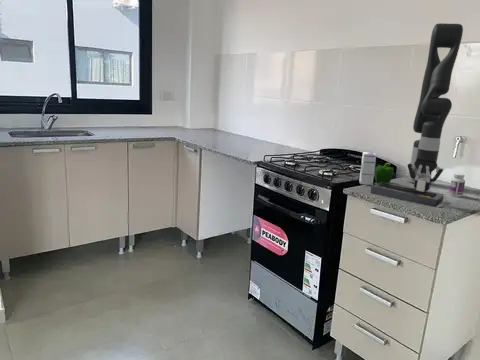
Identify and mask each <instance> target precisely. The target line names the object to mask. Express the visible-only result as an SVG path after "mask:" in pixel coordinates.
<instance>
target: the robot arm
mask: <svg viewBox="0 0 480 360" xmlns="http://www.w3.org/2000/svg"><path fill="white" fill-rule="evenodd" d="M463 33H464V27H463V25H462V24H461V23H441V22H440V23H437V24H436V23H435V24H434V26H433V28H432V31H431V36H430V41H429V42H430V43H429V49H428V57H427V62H426V67H425V70H424V71H425V72H424V76H423V79H422V80H423V81H422V85H421V91H420V96H419V102H418V105H417V110H416V113H415V117H414V120H413V127H412V129H413V131H414V132H415V133H418V134H421V135H420V138H419V139H417V140H414V142H413V146H412V153H411V159H410V163H408V164H407V168H408V175H407V182H409V183H412V184H414V185H413V188H415V189H416V187H417V182H418V179H420V178H423V179H427V182H426V185H425V191H430V189H431V183H434V182H436V181H437V180H438V178H439V177H440V176H441V174H442V173H443V172H444V168H442V167H440V166H438V157H439V151H440V146H441V137H442V132H443V129H444V128H443V127H444V125H445V122H446V120H447V118H448V116H449V113H450V112H451V110H452V107H453V103H452V101H451V99H450V98H447V97H441V96H443V95H446V94H447V93H448V92H449V90H450V84H451V79H452V73H453V69H454V66H455V63H456V59H457V57H458V53H459V50H460V46H461V42H462V39H463V38H462V37H463ZM439 48H440V49H442V48H445V49H449V51H448V53H447V54H446V56H445V57H444V58H443V59H442V60H441V59H440V56H439V51H438V49H439ZM434 171H435V175H434V176H433V177H432V174H433V173H432V172H434Z"/></svg>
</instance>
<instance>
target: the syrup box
mask: <svg viewBox="0 0 480 360" xmlns="http://www.w3.org/2000/svg"><path fill="white" fill-rule="evenodd" d="M376 162H377V154H376V153H375V152H370V151H362V156H361V165H360V170H359V171H360V172H359V180H358V181H359V184H360V185H364V186H365V185H366V186H373V185H374V179H375V168H376Z"/></svg>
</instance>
